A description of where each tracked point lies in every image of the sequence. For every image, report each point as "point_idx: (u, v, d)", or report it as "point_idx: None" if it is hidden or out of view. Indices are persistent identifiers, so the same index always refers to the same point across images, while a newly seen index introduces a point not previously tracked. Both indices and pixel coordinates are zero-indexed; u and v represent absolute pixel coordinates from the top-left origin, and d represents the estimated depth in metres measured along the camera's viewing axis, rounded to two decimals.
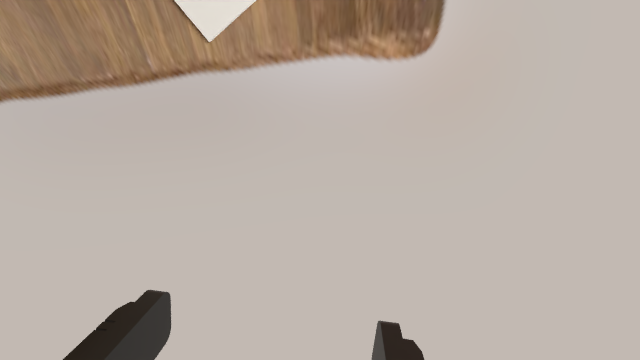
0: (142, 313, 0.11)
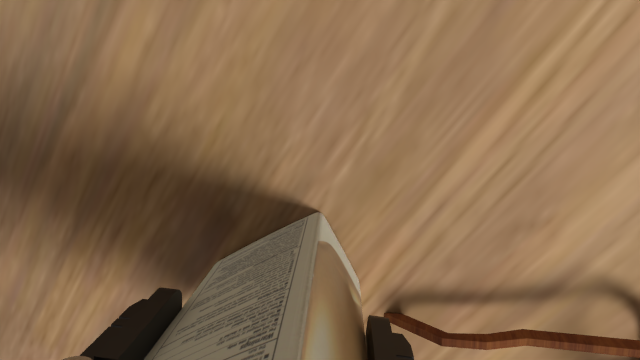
0: (155, 310, 0.11)
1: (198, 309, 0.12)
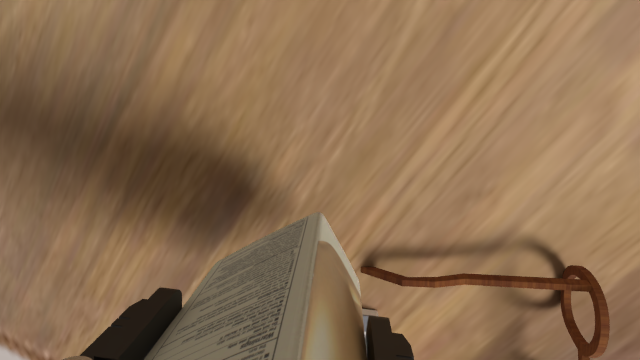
0: (156, 310, 0.11)
1: (199, 309, 0.12)
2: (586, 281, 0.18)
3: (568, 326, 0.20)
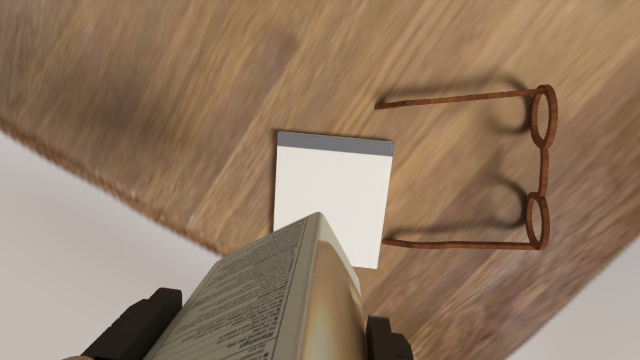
0: (156, 310, 0.11)
1: (198, 308, 0.12)
2: (544, 89, 0.24)
3: (534, 140, 0.26)
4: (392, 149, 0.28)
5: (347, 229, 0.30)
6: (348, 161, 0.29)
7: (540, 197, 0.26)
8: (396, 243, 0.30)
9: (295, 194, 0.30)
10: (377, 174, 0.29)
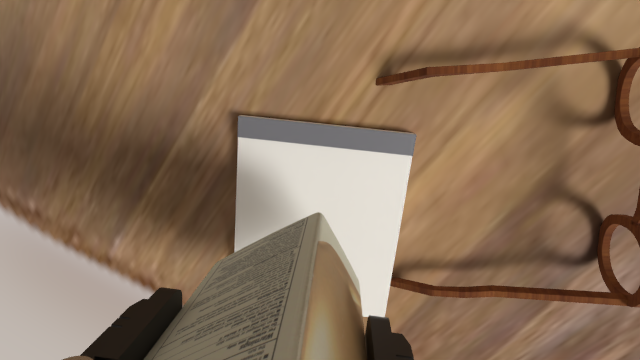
0: (156, 310, 0.11)
1: (198, 309, 0.12)
2: None
3: (626, 134, 0.17)
4: (412, 144, 0.18)
5: None
6: (345, 162, 0.19)
7: (639, 225, 0.16)
8: (406, 286, 0.20)
9: (265, 209, 0.20)
10: (388, 182, 0.19)
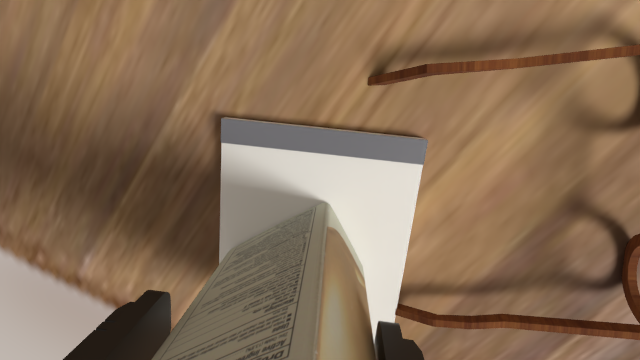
0: (142, 313, 0.11)
1: (219, 287, 0.13)
2: None
3: None
4: (423, 152, 0.16)
5: None
6: (345, 171, 0.16)
7: None
8: (403, 313, 0.18)
9: (253, 225, 0.18)
10: (395, 195, 0.17)
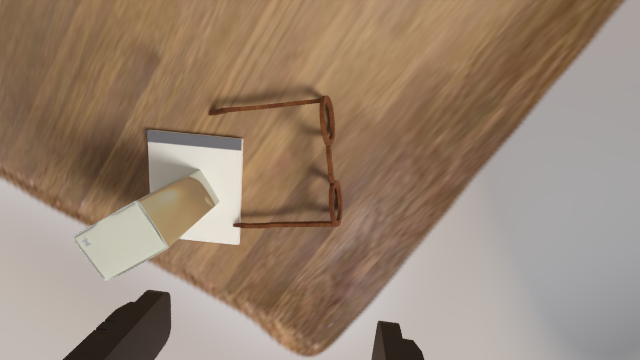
0: (142, 313, 0.11)
1: None
2: None
3: None
4: (240, 144, 0.35)
5: (211, 211, 0.37)
6: (206, 154, 0.35)
7: (330, 184, 0.33)
8: (236, 225, 0.36)
9: (165, 182, 0.36)
10: (230, 165, 0.35)
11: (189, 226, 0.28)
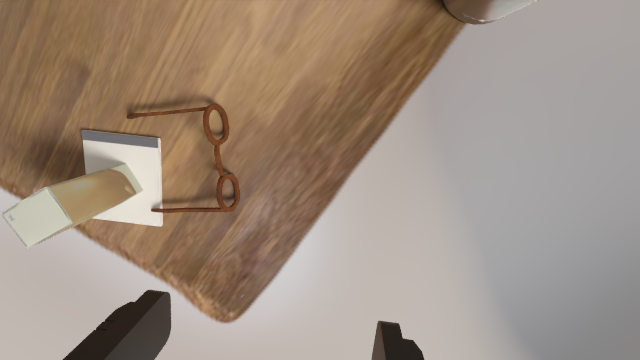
0: (142, 313, 0.11)
1: None
2: None
3: (222, 139, 0.40)
4: (156, 143, 0.42)
5: (136, 198, 0.44)
6: (130, 151, 0.42)
7: (220, 176, 0.40)
8: (152, 210, 0.44)
9: None
10: (150, 160, 0.43)
11: (100, 208, 0.36)
